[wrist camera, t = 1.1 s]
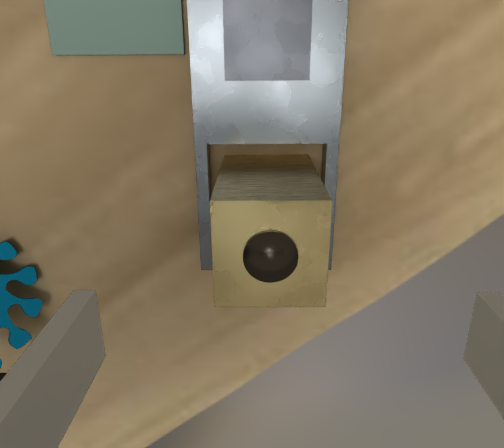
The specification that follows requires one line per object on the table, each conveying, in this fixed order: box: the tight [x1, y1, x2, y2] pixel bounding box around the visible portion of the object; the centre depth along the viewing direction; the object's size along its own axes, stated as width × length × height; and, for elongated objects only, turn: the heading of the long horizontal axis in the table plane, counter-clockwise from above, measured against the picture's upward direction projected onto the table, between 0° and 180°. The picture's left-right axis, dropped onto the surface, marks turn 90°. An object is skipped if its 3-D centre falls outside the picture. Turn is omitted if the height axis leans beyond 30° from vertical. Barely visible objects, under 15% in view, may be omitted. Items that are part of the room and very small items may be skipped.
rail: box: [187, 0, 348, 270], centre depth 26 cm, size 9×26×2 cm, turn 0°
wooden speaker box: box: [210, 155, 332, 307], centre depth 25 cm, size 6×6×10 cm
